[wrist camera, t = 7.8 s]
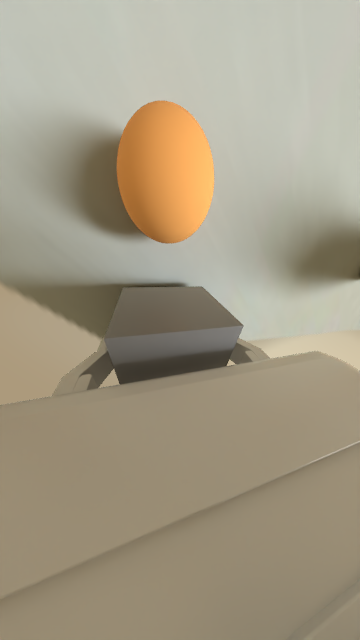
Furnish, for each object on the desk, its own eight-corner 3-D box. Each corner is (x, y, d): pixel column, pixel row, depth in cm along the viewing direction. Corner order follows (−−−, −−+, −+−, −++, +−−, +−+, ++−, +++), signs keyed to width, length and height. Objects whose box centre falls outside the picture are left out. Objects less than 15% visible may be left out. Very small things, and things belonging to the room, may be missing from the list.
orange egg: (116, 133, 7) (81, 2, 3) (200, 153, 8) (254, 77, 4) (129, 239, 10) (120, 243, 6) (191, 243, 11) (219, 249, 7)
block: (122, 287, 11) (103, 338, 5) (202, 286, 12) (243, 325, 7) (134, 347, 14) (128, 410, 9) (192, 340, 16) (215, 391, 11)
